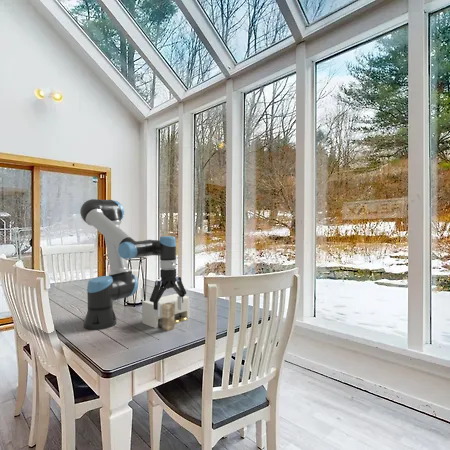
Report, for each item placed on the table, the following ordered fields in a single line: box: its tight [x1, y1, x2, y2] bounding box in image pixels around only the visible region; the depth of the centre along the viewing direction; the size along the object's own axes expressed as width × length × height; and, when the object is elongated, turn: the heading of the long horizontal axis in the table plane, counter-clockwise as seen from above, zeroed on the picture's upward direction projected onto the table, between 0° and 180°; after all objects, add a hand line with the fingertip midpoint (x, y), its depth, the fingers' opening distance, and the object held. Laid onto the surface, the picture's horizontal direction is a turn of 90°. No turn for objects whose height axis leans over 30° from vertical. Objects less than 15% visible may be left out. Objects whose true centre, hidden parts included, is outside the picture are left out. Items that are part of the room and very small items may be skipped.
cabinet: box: [141, 293, 191, 329], centre depth 165 cm, size 22×11×11 cm, turn 138°
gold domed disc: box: [178, 316, 188, 322], centre depth 167 cm, size 4×4×1 cm
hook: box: [158, 303, 181, 332], centre depth 160 cm, size 17×12×12 cm
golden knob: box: [174, 318, 180, 325], centre depth 163 cm, size 4×4×1 cm
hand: (169, 313), depth 152 cm, fingers open, 13 cm apart
